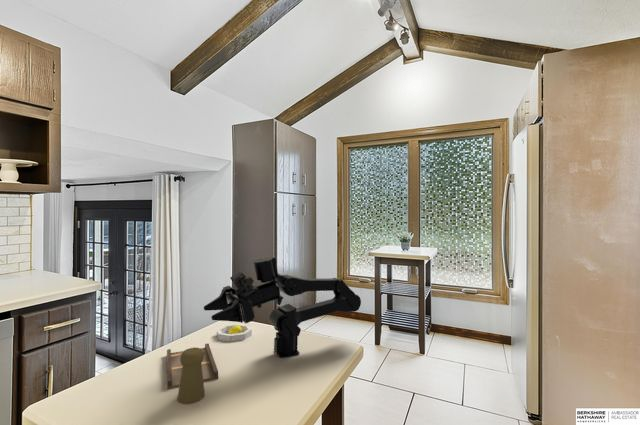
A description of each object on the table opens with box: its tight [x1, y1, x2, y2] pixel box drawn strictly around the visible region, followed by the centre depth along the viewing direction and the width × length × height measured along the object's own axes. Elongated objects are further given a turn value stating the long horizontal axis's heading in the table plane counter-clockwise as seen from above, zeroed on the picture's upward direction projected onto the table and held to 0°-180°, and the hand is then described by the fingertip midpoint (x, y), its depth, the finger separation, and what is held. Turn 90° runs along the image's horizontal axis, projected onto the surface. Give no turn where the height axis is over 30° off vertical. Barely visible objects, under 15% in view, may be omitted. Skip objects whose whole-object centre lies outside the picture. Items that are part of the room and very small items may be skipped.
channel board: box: [166, 343, 219, 390], centre depth 89 cm, size 12×21×2 cm, turn 26°
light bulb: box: [225, 325, 242, 334], centre depth 113 cm, size 3×6×4 cm, turn 116°
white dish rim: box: [216, 323, 253, 343], centre depth 114 cm, size 12×12×2 cm
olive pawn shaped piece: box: [176, 347, 206, 405], centre depth 74 cm, size 6×6×11 cm
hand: (207, 313), depth 87 cm, fingers open, 9 cm apart
